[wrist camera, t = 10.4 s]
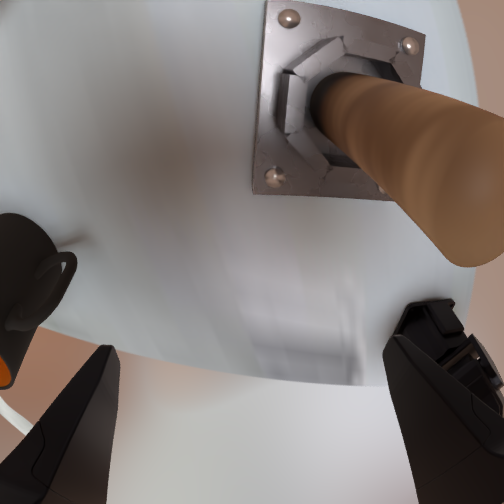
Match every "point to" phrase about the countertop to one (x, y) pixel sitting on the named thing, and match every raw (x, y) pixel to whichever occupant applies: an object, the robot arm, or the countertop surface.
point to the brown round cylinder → (423, 158)
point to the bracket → (303, 84)
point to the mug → (27, 288)
